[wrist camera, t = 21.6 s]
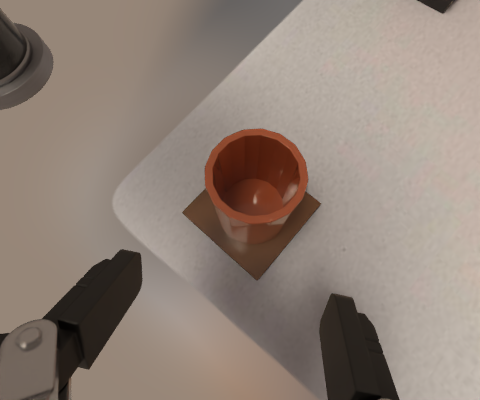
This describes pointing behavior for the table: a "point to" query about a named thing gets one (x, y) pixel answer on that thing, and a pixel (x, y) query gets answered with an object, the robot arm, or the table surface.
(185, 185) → the table surface
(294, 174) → the terracotta cup
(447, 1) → the dark grey square frame
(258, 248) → the walnut board
